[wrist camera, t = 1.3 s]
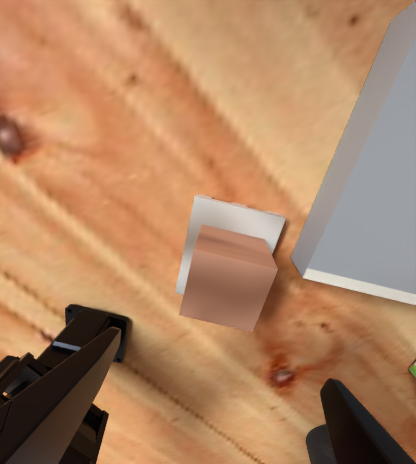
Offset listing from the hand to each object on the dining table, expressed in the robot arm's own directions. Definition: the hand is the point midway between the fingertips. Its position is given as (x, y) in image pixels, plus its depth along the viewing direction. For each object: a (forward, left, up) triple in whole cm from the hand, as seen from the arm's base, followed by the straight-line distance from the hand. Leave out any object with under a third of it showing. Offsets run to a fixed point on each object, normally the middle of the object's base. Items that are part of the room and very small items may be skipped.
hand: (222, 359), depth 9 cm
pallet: (0, 0, -10) cm, 10 cm away
